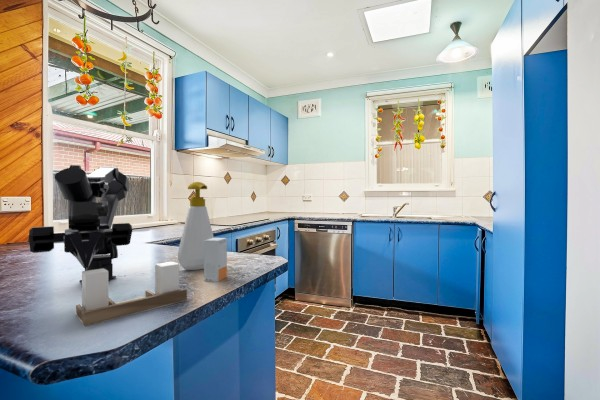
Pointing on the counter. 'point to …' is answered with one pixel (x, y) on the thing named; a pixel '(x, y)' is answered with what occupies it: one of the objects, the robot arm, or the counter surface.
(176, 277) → the white rectangular block
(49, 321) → the counter surface
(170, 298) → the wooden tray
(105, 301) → the white tall block
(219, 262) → the skincare box
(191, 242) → the soap bottle
